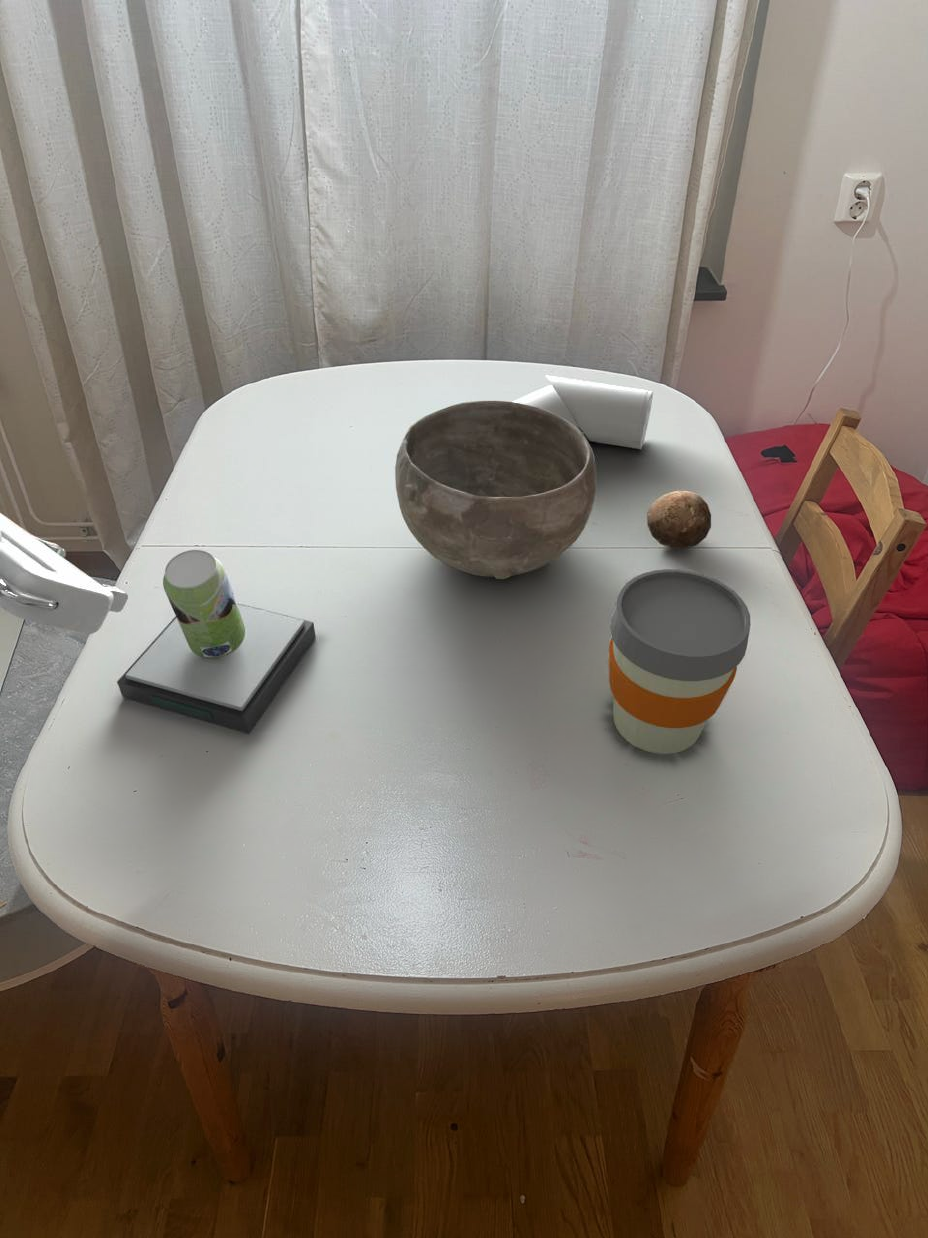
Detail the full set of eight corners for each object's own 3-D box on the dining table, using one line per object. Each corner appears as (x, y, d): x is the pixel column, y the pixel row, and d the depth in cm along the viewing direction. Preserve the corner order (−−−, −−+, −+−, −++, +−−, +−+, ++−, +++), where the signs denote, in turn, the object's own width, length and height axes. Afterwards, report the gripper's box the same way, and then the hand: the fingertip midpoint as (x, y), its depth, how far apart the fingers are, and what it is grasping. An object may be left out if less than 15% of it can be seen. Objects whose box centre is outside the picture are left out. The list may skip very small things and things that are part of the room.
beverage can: (250, 623, 94) (230, 534, 86) (242, 670, 88) (220, 581, 80) (192, 625, 93) (166, 537, 85) (180, 674, 88) (152, 584, 80)
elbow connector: (577, 391, 138) (487, 432, 128) (595, 334, 129) (500, 373, 119) (658, 454, 131) (570, 503, 121) (683, 398, 123) (590, 446, 113)
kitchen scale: (122, 698, 89) (114, 678, 87) (200, 608, 100) (195, 588, 98) (248, 734, 86) (243, 715, 84) (316, 637, 96) (313, 617, 94)
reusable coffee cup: (626, 781, 82) (649, 671, 72) (577, 689, 91) (592, 580, 80) (742, 752, 84) (781, 643, 74) (683, 665, 93) (711, 557, 83)
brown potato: (664, 487, 113) (677, 470, 107) (713, 522, 113) (729, 508, 106) (629, 532, 112) (640, 518, 106) (679, 569, 111) (692, 557, 105)
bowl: (479, 639, 96) (481, 531, 86) (358, 539, 110) (348, 436, 100) (625, 555, 108) (642, 452, 98) (498, 474, 121) (502, 376, 111)
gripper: (25, 557, 57) (177, 594, 70) (-113, 454, 67) (42, 503, 79) (-14, 640, 58) (144, 663, 70) (-146, 526, 68) (13, 564, 80)
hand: (89, 577), depth 75 cm, fingers open, 8 cm apart
